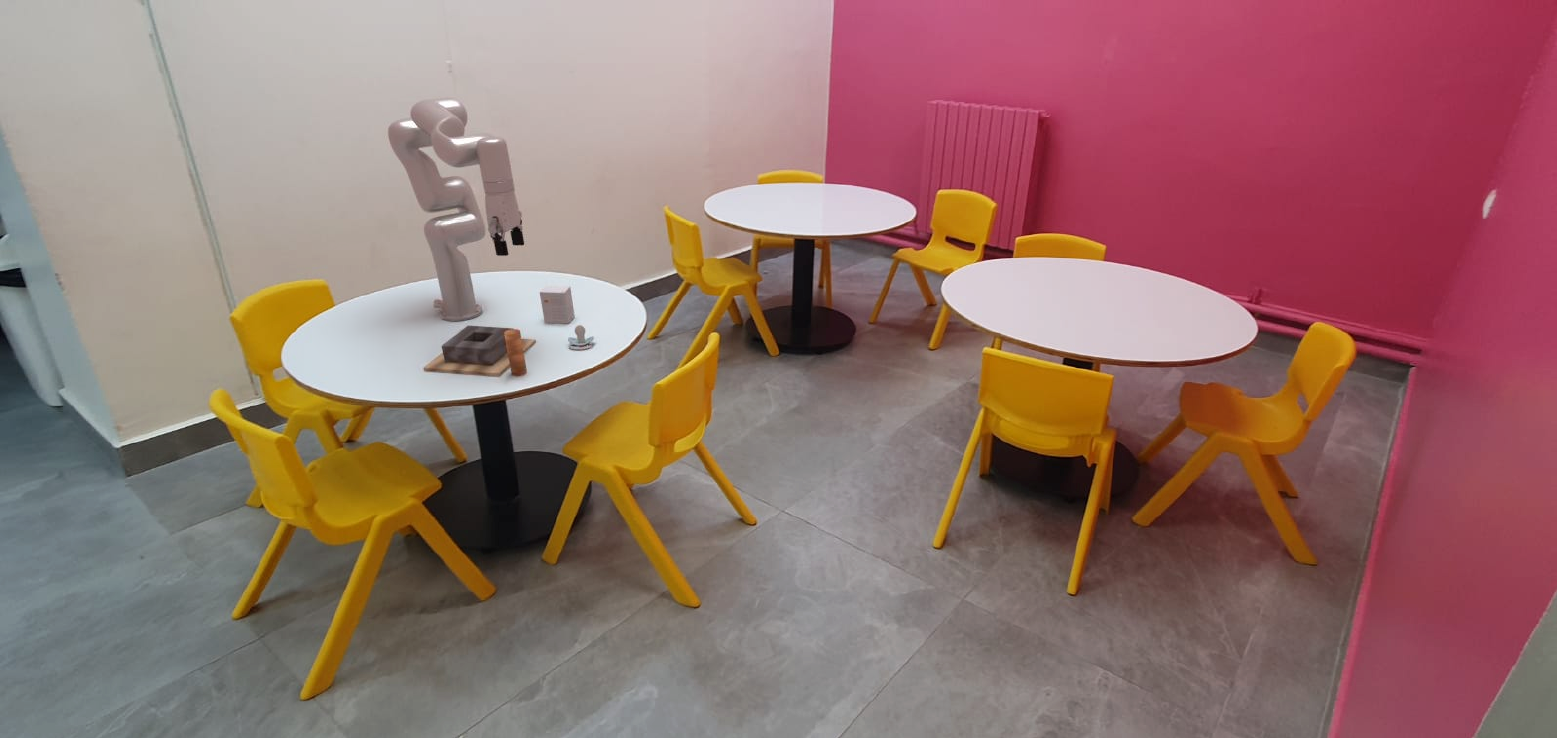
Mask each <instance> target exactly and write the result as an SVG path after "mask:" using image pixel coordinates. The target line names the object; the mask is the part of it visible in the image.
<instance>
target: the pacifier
mask: <svg viewBox="0 0 1557 738" xmlns="http://www.w3.org/2000/svg"><path fill="white" fill-rule="evenodd" d="M574 333H575V335H576V337H572V336H571V337H568V338H567V341H568V342H569V343H570V346H569V349H571V350H575V351H583V350H588V349H591V348H592V347H593V344H592V341H594V339H595V336H589V337H587V338H586V336H585V334H586V328H585V326H583V325H582V324H578V325H576V326H575V328H574ZM587 345H588V346H587ZM573 346H574V347H573ZM576 346H579V347H576ZM584 346H586V347H584Z"/></svg>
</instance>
